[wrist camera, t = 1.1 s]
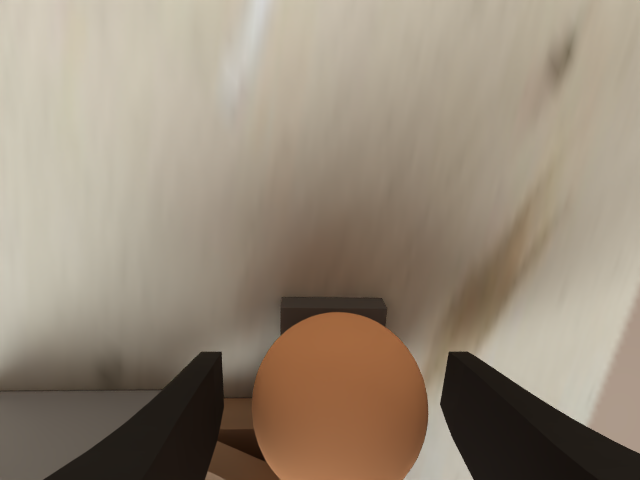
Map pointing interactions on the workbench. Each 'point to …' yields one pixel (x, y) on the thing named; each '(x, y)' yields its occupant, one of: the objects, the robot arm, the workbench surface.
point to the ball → (339, 402)
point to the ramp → (238, 446)
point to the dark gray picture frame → (329, 309)
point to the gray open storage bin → (58, 427)
